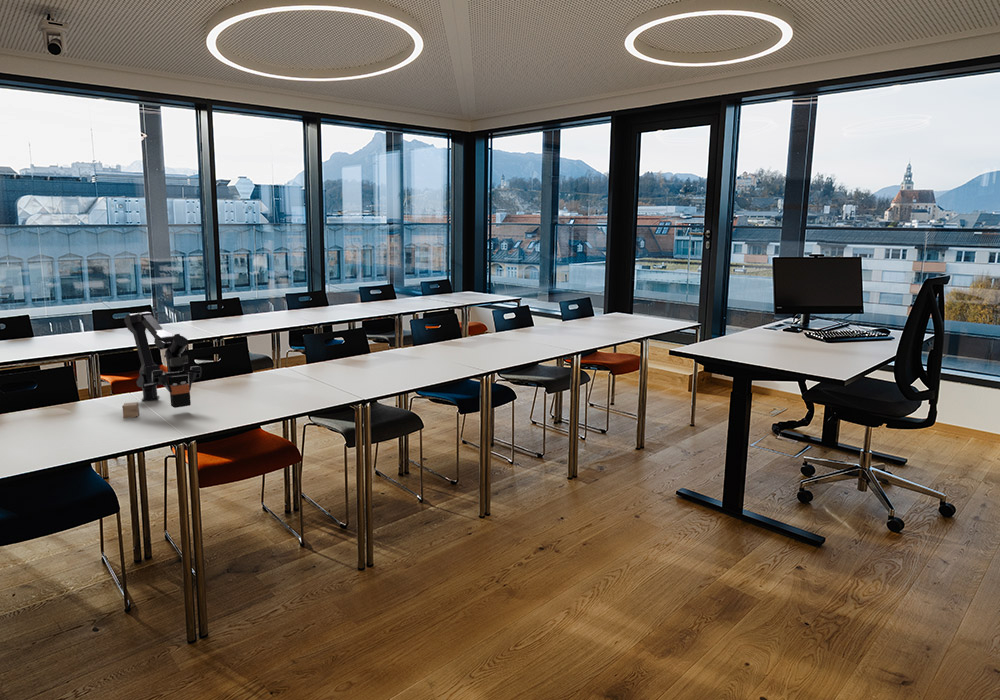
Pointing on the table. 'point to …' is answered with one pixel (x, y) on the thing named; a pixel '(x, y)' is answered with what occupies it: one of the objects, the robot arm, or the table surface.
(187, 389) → the battery
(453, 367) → the table surface
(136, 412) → the beige cube
